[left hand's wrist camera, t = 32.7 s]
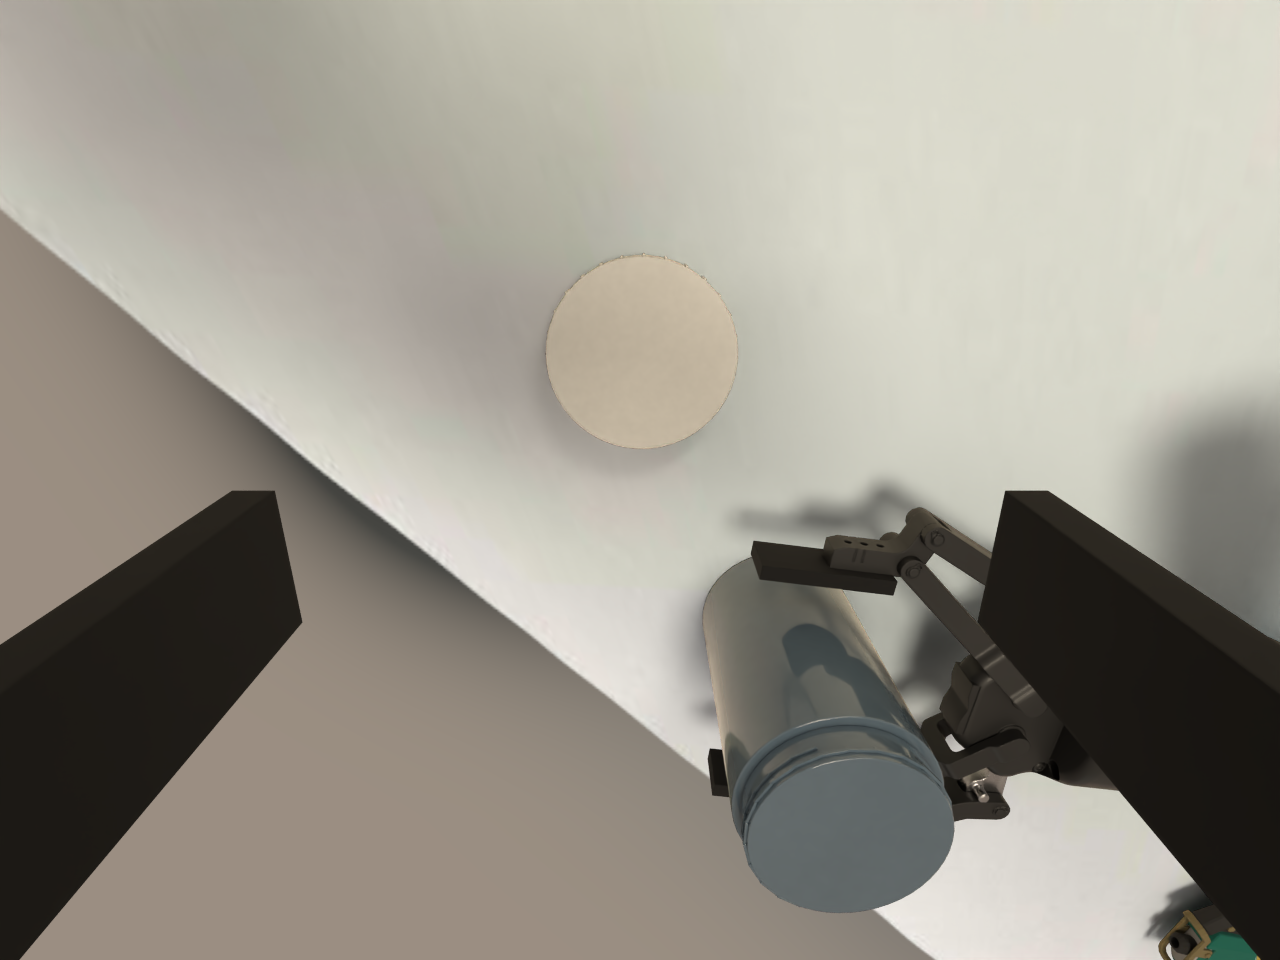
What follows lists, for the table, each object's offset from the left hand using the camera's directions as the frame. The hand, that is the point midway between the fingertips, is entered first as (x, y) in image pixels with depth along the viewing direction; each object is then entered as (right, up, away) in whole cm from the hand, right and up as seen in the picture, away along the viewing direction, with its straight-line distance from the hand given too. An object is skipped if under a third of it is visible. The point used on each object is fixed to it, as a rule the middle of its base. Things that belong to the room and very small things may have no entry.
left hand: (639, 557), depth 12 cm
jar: (+8, -7, +29) cm, 31 cm away
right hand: (+5, -9, +23) cm, 25 cm away
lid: (0, +8, +22) cm, 23 cm away
